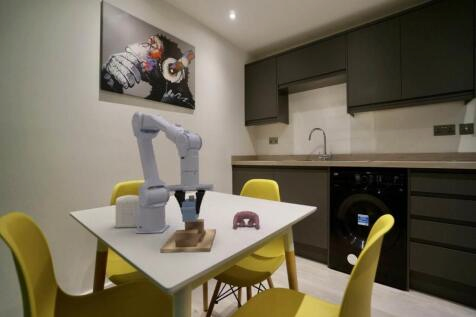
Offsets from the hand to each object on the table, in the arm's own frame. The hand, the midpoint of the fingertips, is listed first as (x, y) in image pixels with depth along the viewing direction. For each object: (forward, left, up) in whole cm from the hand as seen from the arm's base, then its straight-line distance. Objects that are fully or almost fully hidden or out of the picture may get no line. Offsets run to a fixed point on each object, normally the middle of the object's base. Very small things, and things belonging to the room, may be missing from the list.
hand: (190, 213), depth 69 cm
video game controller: (+18, +13, -9) cm, 24 cm away
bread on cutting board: (0, 0, -9) cm, 9 cm away
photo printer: (-28, +17, -9) cm, 34 cm away
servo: (0, 0, -2) cm, 2 cm away
